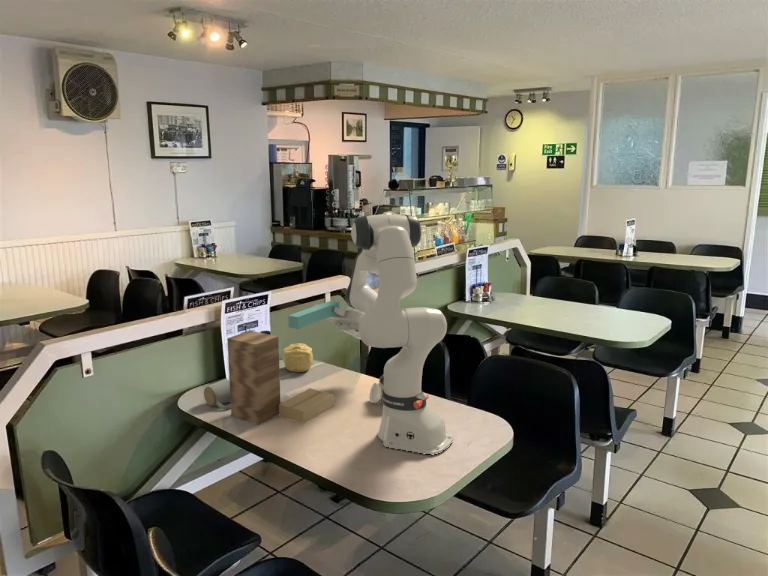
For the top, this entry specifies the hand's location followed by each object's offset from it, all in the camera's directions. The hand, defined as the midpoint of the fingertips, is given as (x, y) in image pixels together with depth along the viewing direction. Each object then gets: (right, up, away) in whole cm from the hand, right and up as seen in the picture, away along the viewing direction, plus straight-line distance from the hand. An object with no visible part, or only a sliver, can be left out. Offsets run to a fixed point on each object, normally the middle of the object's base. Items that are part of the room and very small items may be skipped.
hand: (327, 308), depth 195 cm
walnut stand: (-22, -34, -7) cm, 41 cm away
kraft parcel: (-6, -33, -3) cm, 34 cm away
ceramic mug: (-35, -33, +1) cm, 48 cm away
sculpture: (-15, -25, +34) cm, 45 cm away
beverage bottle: (-24, -29, +19) cm, 42 cm away
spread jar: (+20, -32, +4) cm, 38 cm away
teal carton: (-3, -4, -5) cm, 7 cm away
